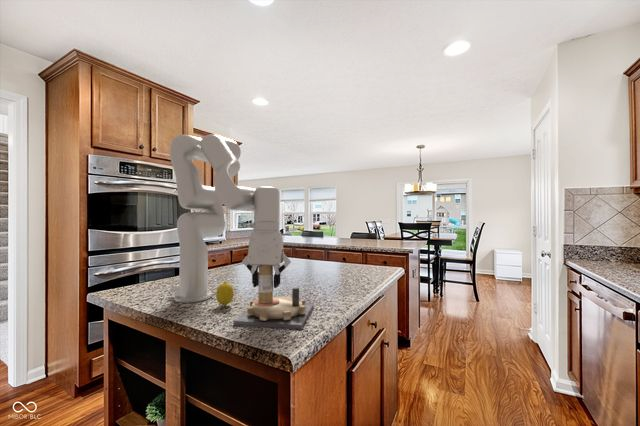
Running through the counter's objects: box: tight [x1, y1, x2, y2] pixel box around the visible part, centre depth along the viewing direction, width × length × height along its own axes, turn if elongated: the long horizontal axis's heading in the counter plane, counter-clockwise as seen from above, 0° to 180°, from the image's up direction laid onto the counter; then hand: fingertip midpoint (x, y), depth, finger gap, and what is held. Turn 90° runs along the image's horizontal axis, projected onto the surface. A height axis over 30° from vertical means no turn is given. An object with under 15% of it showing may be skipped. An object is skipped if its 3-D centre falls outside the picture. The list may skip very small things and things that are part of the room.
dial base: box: [232, 302, 315, 330], centre depth 84 cm, size 19×19×1 cm
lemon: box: [216, 281, 235, 307], centre depth 93 cm, size 6×6×8 cm
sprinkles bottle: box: [257, 265, 274, 304], centre depth 85 cm, size 5×5×13 cm
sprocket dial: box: [246, 287, 306, 321], centre depth 84 cm, size 18×18×7 cm
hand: (266, 285), depth 84 cm, fingers open, 5 cm apart
